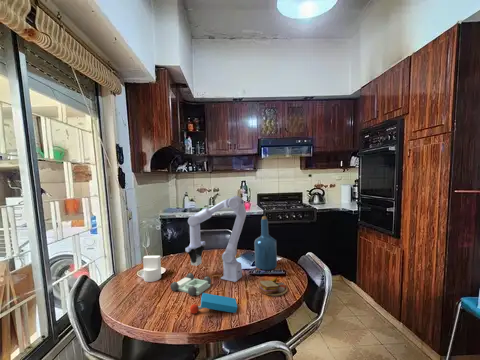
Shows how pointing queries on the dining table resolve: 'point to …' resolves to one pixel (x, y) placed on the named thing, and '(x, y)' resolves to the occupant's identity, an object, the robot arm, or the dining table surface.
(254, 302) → the dining table surface
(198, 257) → the grey boxy piece
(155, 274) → the cylinder with rectangular tab
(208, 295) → the lever
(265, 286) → the toy sandwich meal
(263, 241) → the wine bottle
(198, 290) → the chassis
